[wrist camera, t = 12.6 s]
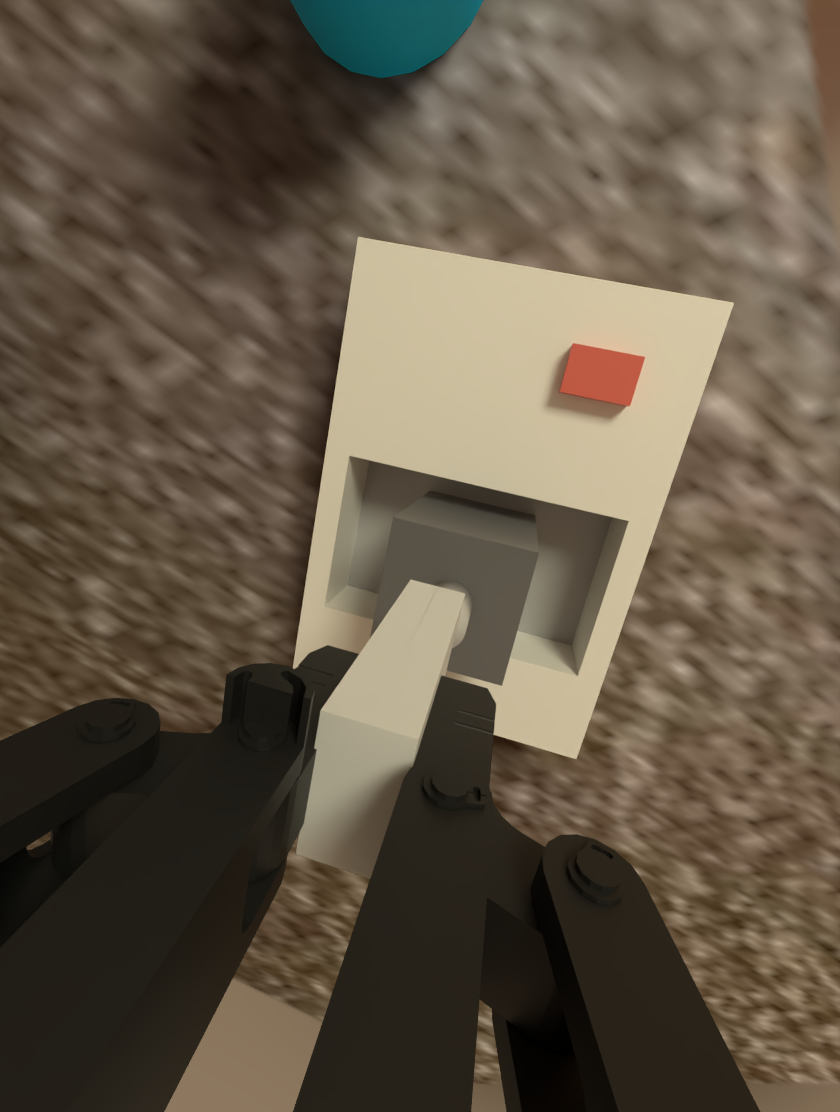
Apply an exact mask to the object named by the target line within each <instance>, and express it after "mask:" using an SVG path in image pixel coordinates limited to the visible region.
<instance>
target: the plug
mask: <svg viewBox="0 0 840 1112" xmlns="http://www.w3.org/2000/svg"><path fill="white" fill-rule="evenodd" d="M538 555H539V547H538V537H537V528H536V519H535V515H532V514H528V513H524V512H519V511H515V510H511V509H507V508H502V507H498V506H494V505H490V504H485V503H481V502H477V501H473V500H468V499H464V498H460V497H456V496H451V495H447V494H443V493H439V492H434V491H429V492H428V493H426V494H425V495H423V496H422V497H421V498H419V499H418V500H416V501H415V502H414V503H412V504H411V505H410V506H408V507H407V508H405V509H404V510H403V511H401V512H400V513H398V514H397V515H396V516H394V517H393V521H392V526H391V531H390V536H389V541H388V547H387V552H386V557H385V562H384V567H383V573H382V578H381V583H380V588H379V593H378V599H377V604H376V609H375V614H374V619H373V625H372V630H371V635H370V638H371V636H372V635H373V634H374V632H375V631H376V629H377V628H378V626H379V625H380V623H381V622H382V621H383V619H384V618H385V616H386V615H387V613H388V612H389V610H390V609H391V607H392V606H393V605H394V603H395V602H396V600H397V599H398V597H399V596H400V594H401V593H402V591H403V590H404V589H405V587H406V586H407V584H408V583H409V581H410V580H415V581H418V582H422V583H426V584H430V585H434V586H438V587H442V588H445V589H449V590H453V591H457V592H461V593H465V597H464V601H463V605H462V609H461V614H460V618H459V622H458V626H457V630H456V634H455V638H454V642H453V646H452V650H451V654H450V658H449V662H448V666H447V671H450V672H454V673H458V674H461V675H465V676H468V677H472V678H475V679H479V680H482V681H486V682H490V683H493V684H497V685H500V686H502V684H503V681H504V677H505V673H506V670H507V666H508V663H509V659H510V655H511V652H512V648H513V645H514V641H515V638H516V634H517V630H518V627H519V623H520V620H521V616H522V613H523V609H524V605H525V602H526V598H527V595H528V591H529V588H530V584H531V580H532V577H533V573H534V570H535V566H536V563H537V559H538Z"/></svg>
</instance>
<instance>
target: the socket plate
mask: <svg viewBox="0 0 840 1112" xmlns="http://www.w3.org/2000/svg"><path fill="white" fill-rule="evenodd" d="M733 304H734V303H732V302H726V301H720V300H715V299H709V298H703V297H698V296H692V295H686V294H680V293H675V292H669V291H663V290H658V289H652V288H646V287H641V286H635V285H629V284H623V283H618V282H612V281H606V280H601V279H595V278H589V277H584V276H578V275H572V274H567V273H561V272H555V271H549V270H544V269H538V268H532V267H527V266H521V265H515V264H510V263H504V262H498V261H493V260H487V259H481V258H475V257H470V256H464V255H458V254H453V253H447V252H441V251H436V250H430V249H424V248H418V247H413V246H407V245H401V244H396V243H390V242H384V241H379V240H373V239H367V238H362V237H358V241H357V248H356V254H355V261H354V268H353V274H352V281H351V287H350V294H349V300H348V307H347V314H346V320H345V327H344V333H343V340H342V347H341V353H340V360H339V366H338V373H337V379H336V386H335V393H334V399H333V406H332V412H331V419H330V426H329V432H328V439H327V445H326V452H325V459H324V465H323V472H322V478H321V485H320V491H319V498H318V505H317V511H316V518H315V524H314V531H313V538H312V544H311V551H310V557H309V564H308V570H307V577H306V584H305V590H304V597H303V603H302V610H301V617H300V623H299V630H298V636H297V643H296V649H295V656H294V663H293V669H295V668H296V667H298V665H299V664H300V663H301V662H302V660H303V659H304V658H305V657H306V656H307V655H308V654H309V653H310V652H313V651H315V650H317V649H320V648H322V647H324V646H327V645H329V646H333V647H336V648H340V649H343V650H347V651H350V652H354V653H357V654H360V652H361V651H362V650H363V648H364V647H365V645H366V644H367V642H368V641H369V639H370V635H371V630H372V625H373V619H374V614H375V609H376V604H377V599H378V593H379V588H380V583H381V578H382V573H383V567H384V562H385V557H386V552H387V547H388V541H389V536H390V531H391V526H392V521H393V517H394V516H396V515H397V514H398V513H400V512H401V511H403V510H404V509H405V508H407V507H408V506H410V505H411V504H412V503H414V502H415V501H416V500H418V499H419V498H421V497H422V496H423V495H425V494H426V493H428V492H429V491H434V492H439V493H443V494H447V495H451V496H456V497H460V498H464V499H468V500H473V501H477V502H481V503H485V504H490V505H494V506H498V507H502V508H507V509H511V510H515V511H519V512H524V513H528V514H532V515H535V519H536V528H537V537H538V547H539V555H538V559H537V563H536V566H535V570H534V573H533V577H532V580H531V584H530V588H529V591H528V595H527V598H526V602H525V605H524V609H523V613H522V616H521V620H520V623H519V627H518V630H517V634H516V638H515V641H514V645H513V648H512V652H511V655H510V659H509V663H508V666H507V670H506V673H505V677H504V681H503V684H502V686H500V685H497V684H493V683H490V682H486V681H482V680H479V679H475V678H472V677H468V676H465V675H461V674H458V673H454V672H450V671H447V670H446V674H445V676H446V677H449V678H453V679H456V680H460V681H463V682H467V683H471V684H474V685H478V686H481V687H485V688H488V690H489V692H490V694H491V695H492V697H493V699H494V701H495V703H496V713H495V721H494V722H495V725H494V734H493V735H497V736H500V737H503V738H507V739H510V740H513V741H517V742H520V743H523V744H527V745H530V746H534V747H537V748H540V749H544V750H547V751H550V752H554V753H557V754H561V755H564V756H567V757H571V758H574V759H577V756H578V753H579V750H580V747H581V744H582V741H583V738H584V735H585V733H586V730H587V727H588V724H589V721H590V718H591V715H592V712H593V709H594V707H595V704H596V701H597V698H598V695H599V692H600V689H601V686H602V683H603V681H604V678H605V675H606V672H607V669H608V666H609V663H610V660H611V657H612V654H613V652H614V649H615V646H616V643H617V640H618V637H619V634H620V631H621V628H622V626H623V623H624V620H625V617H626V614H627V611H628V608H629V605H630V602H631V599H632V597H633V594H634V591H635V588H636V585H637V582H638V579H639V576H640V573H641V571H642V568H643V565H644V562H645V559H646V556H647V553H648V550H649V547H650V544H651V542H652V539H653V536H654V533H655V530H656V527H657V524H658V521H659V518H660V516H661V513H662V510H663V507H664V504H665V501H666V498H667V495H668V492H669V490H670V487H671V484H672V481H673V478H674V475H675V472H676V469H677V466H678V463H679V461H680V458H681V455H682V452H683V449H684V446H685V443H686V440H687V437H688V435H689V432H690V429H691V426H692V423H693V420H694V417H695V414H696V411H697V408H698V406H699V403H700V400H701V397H702V394H703V391H704V388H705V385H706V382H707V380H708V377H709V374H710V371H711V368H712V365H713V362H714V359H715V356H716V354H717V351H718V348H719V345H720V342H721V339H722V336H723V333H724V330H725V327H726V325H727V322H728V319H729V316H730V313H731V310H732V307H733Z"/></svg>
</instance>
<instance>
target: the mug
mask: <svg viewBox="0 0 840 1112" xmlns="http://www.w3.org/2000/svg"><path fill="white" fill-rule="evenodd" d="M290 1H291V3H292V5H293V6H294V8H295V10H296V12H297V14H298V15H299V17H300V19H301V21H302V23H303V24H304V26H305V27H306V29H307V30H308V32H309V33H310V34H311V36H312V37H313V38H314V40H315V41H316V43H317V44H318V45H319V47H320V48H321V50H322V51H323V52H324V54H326V55H327V56H329V57H330V58H332V59H333V60H335V61H336V62H337V63H339V64H340V65H342V66H343V67H345V68H346V69H348V70H349V71H351V72H355V73H359V74H364V75H369V76H373V77H378V78H385V77H390V76H396V75H401V74H407V73H412V72H414V71H416V70H418V69H420V68H421V67H423V66H425V65H426V64H428V63H430V62H432V61H433V60H435V59H437V58H438V57H440V56H442V55H443V54H444V53H445V52H446V51H447V50H448V49H449V48H450V47H451V46H452V45H453V44H454V43H455V41H456V40H457V39H458V38H459V37H460V36H461V35H462V34H463V33H464V32H465V31H466V29H467V28H468V27H469V26H470V25H471V23H472V21H473V19H474V17H475V15H476V13H477V11H478V10H479V8H480V6H481V4H482V2H483V0H290Z"/></svg>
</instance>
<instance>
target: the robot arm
mask: <svg viewBox="0 0 840 1112" xmlns="http://www.w3.org/2000/svg"><path fill="white" fill-rule="evenodd" d="M464 597H465V593H461V592H457V591H453V590H449V589H445V588H442V587H438V586H434V585H430V584H426V583H422V582H418V581H415V580H410V581H409V583H408V584H407V586H406V587H405V589H404V590H403V591H402V593H401V594H400V596H399V597H398V599H397V600H396V602H395V603H394V605H393V606H392V607H391V609H390V610H389V612H388V613H387V615H386V616H385V618H384V619H383V621H382V622H381V623H380V625H379V626H378V628H377V629H376V631H375V632H374V634H373V635H372V636H371V638H370V639H369V641H368V642H367V644H366V645H365V647H364V648H363V650H362V651H361V652H360V654H357V653H354V652H350V651H347V650H343V649H340V648H336V647H333V646H329V645H327V646H324V647H322V648H320V649H317V650H315V651H313V652H310V653H309V654H308V655H307V656H306V657H305V658H304V659H303V660H302V662H301V663H300V664H299V665H298V667H296V668H295V669H293V668H291V667H289V666H284V665H278V664H272V663H266V664H251V665H247V666H243V667H239V668H237V669H235V670H234V671H232V672H230V673H228V674H227V676H226V685H225V694H224V703H223V713H222V722H221V723H220V724H219V725H218V726H217V727H216V728H215V729H214V731H213V732H212V733H180V732H165V731H160V719H159V714H158V712H157V711H156V710H155V709H154V708H152V707H151V706H150V705H149V704H146V703H143V702H140V701H137V700H135V699H123V698H112V699H104V700H96V701H93V702H90V703H86V704H83V705H80V706H77V707H75V708H73V709H70V710H68V711H66V712H64V713H61V714H59V715H57V716H55V717H52V718H50V719H48V720H46V721H43V722H41V723H39V724H37V725H35V726H32V727H30V728H28V729H26V730H23V731H21V732H19V733H17V734H14V735H12V736H10V737H8V738H5V739H3V740H1V741H0V1112H164V1111H165V1109H166V1107H167V1105H168V1103H169V1101H170V1099H171V1097H172V1095H173V1093H174V1091H175V1089H176V1088H177V1086H178V1084H179V1082H180V1080H181V1078H182V1076H183V1074H184V1072H185V1070H186V1068H187V1066H188V1064H189V1062H190V1060H191V1058H192V1056H193V1054H194V1052H195V1050H196V1049H197V1047H198V1045H199V1043H200V1041H201V1039H202V1037H203V1035H204V1033H205V1031H206V1029H207V1027H208V1025H209V1023H210V1021H211V1019H212V1017H213V1015H214V1014H215V1012H216V1010H217V1008H218V1006H219V1004H220V1002H221V1000H222V998H223V996H224V994H225V992H226V990H227V988H228V986H229V984H230V982H231V980H232V978H233V977H234V975H235V973H236V971H237V969H238V967H239V965H240V963H241V961H242V959H243V957H244V955H245V953H246V951H247V949H248V947H249V945H250V943H251V941H252V939H253V938H254V936H255V934H256V932H257V930H258V928H259V926H260V924H261V922H262V920H263V918H264V916H265V914H266V912H267V910H268V908H269V906H270V904H271V902H272V901H273V899H274V897H275V895H276V893H277V891H278V889H279V887H280V885H281V882H282V879H283V875H284V871H285V867H286V861H287V855H288V852H289V850H290V849H291V847H292V845H293V843H294V841H295V839H296V837H297V836H298V834H299V839H298V845H297V851H296V854H297V855H300V856H303V857H306V858H309V859H312V860H315V861H318V862H321V863H324V864H327V865H330V866H333V867H336V868H339V869H342V870H345V871H348V872H351V873H354V874H357V875H360V876H363V877H366V878H368V879H370V881H369V884H368V887H367V890H366V893H365V896H364V899H363V902H362V905H361V908H360V911H359V914H358V917H357V920H356V923H355V926H354V929H353V932H352V935H351V939H350V942H349V945H348V948H347V951H346V954H345V957H344V960H343V963H342V966H341V969H340V972H339V975H338V978H337V981H336V984H335V987H334V990H333V993H332V996H331V999H330V1002H329V1005H328V1008H327V1011H326V1014H325V1017H324V1020H323V1023H322V1026H321V1029H320V1032H319V1035H318V1038H317V1041H316V1044H315V1047H314V1050H313V1053H312V1056H311V1059H310V1062H309V1065H308V1068H307V1071H306V1074H305V1077H304V1080H303V1083H302V1086H301V1089H300V1092H299V1095H298V1098H297V1101H296V1104H295V1107H294V1110H293V1112H471V1105H472V1091H473V1078H474V1065H475V1051H476V1038H477V1025H478V1011H479V999H480V1000H481V1001H483V1002H484V1003H485V1004H486V1005H488V1006H489V1007H490V1008H492V1021H493V1027H494V1034H495V1040H496V1047H497V1053H498V1059H499V1066H500V1072H501V1079H502V1085H503V1091H504V1098H505V1104H506V1111H507V1112H760V1110H759V1108H758V1107H757V1105H756V1103H755V1101H754V1099H753V1097H752V1095H751V1093H750V1091H749V1089H748V1087H747V1085H746V1083H745V1081H744V1079H743V1077H742V1075H741V1073H740V1071H739V1069H738V1067H737V1065H736V1063H735V1061H734V1059H733V1057H732V1055H731V1053H730V1051H729V1049H728V1047H727V1045H726V1044H725V1042H724V1040H723V1038H722V1036H721V1034H720V1032H719V1030H718V1028H717V1026H716V1024H715V1022H714V1020H713V1018H712V1016H711V1014H710V1012H709V1010H708V1008H707V1006H706V1004H705V1002H704V1000H703V998H702V996H701V994H700V992H699V990H698V988H697V986H696V984H695V982H694V981H693V979H692V977H691V975H690V973H689V971H688V969H687V967H686V965H685V963H684V961H683V959H682V957H681V955H680V953H679V951H678V949H677V947H676V945H675V943H674V941H673V939H672V937H671V935H670V933H669V931H668V929H667V927H666V925H665V923H664V921H663V920H662V918H661V916H660V914H659V912H658V910H657V908H656V906H655V904H654V902H653V900H652V898H651V896H650V894H649V892H648V890H647V888H646V886H645V884H644V882H643V881H642V880H641V878H640V877H639V875H638V874H637V872H636V871H635V870H634V868H633V867H632V865H630V864H629V863H628V862H627V861H626V860H625V859H624V858H623V857H622V856H620V855H619V854H618V853H617V852H616V851H615V850H613V849H611V848H609V847H608V846H606V845H604V844H602V843H601V842H599V841H597V840H595V839H591V838H588V837H584V836H580V835H577V834H576V835H560V836H558V837H556V838H554V839H553V840H551V841H549V842H548V843H547V845H546V847H544V846H542V845H541V844H539V843H537V842H536V841H534V840H532V839H531V838H529V837H527V836H526V835H524V834H523V833H521V832H520V831H518V830H517V829H515V828H514V827H513V826H511V825H510V824H509V823H508V822H507V821H506V820H505V819H504V818H503V817H502V816H501V814H500V813H499V811H498V810H497V809H496V807H495V806H494V804H493V799H492V793H491V791H490V789H489V782H490V771H491V759H492V748H493V734H494V725H495V722H494V721H495V713H496V703H495V701H494V699H493V697H492V695H491V694H490V692H489V690H488V688H485V687H481V686H478V685H474V684H471V683H467V682H463V681H460V680H456V679H453V678H449V677H446V676H445V674H446V670H447V666H448V662H449V658H450V654H451V650H452V646H453V642H454V638H455V634H456V630H457V626H458V622H459V618H460V614H461V609H462V605H463V601H464ZM50 831H51V840H49V841H48V842H46V843H45V844H43V845H41V846H38V847H36V848H34V849H32V850H27V849H26V846H28V845H29V844H31V843H32V842H34V841H36V840H37V839H39V838H40V837H42V836H44V835H45V834H47V833H48V832H50ZM299 832H300V833H299Z"/></svg>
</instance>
